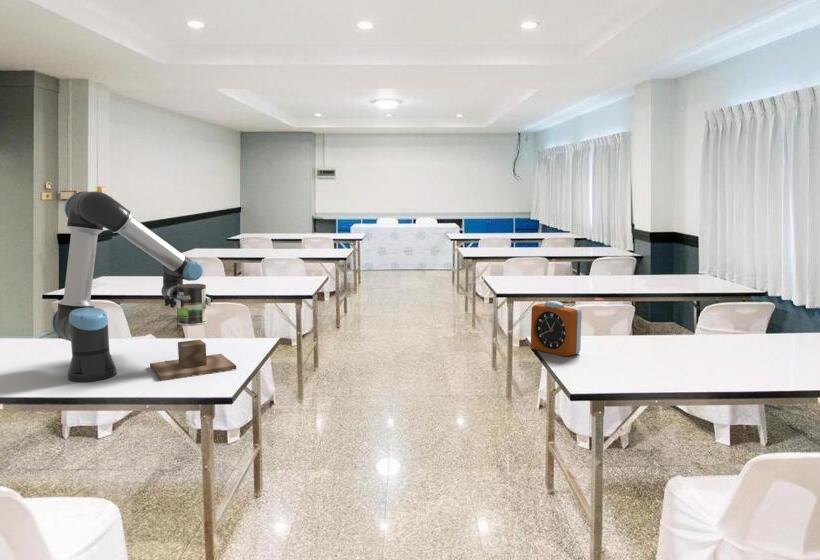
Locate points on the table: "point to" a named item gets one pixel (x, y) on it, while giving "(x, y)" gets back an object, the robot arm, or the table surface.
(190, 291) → the lidded glass jar
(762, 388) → the table surface
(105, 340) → the robot arm
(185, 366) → the plinth
